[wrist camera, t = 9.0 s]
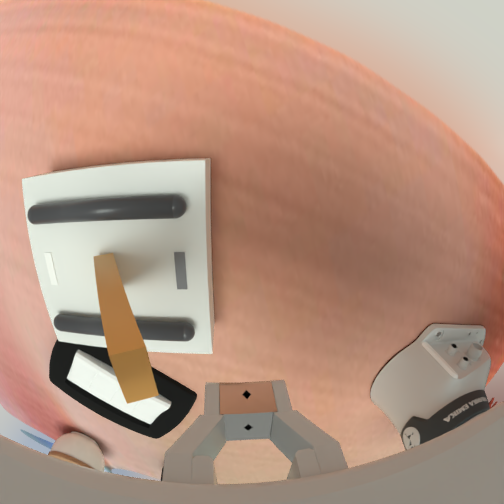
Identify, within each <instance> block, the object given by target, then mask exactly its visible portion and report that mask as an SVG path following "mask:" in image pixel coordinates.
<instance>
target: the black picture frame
mask: <svg viewBox="0 0 504 504" xmlns="http://www.w3.org/2000/svg"><path fill="white" fill-rule="evenodd" d="M151 369H152V372H153V376H154V380H155V383H156V387H157V390H158V394H159V395H158V396H155V397H151V398H148V399H144V400H140V401H136V402H132V403H128V404H127V402H126V400H125V398H124V395H123V393H122V390H121V388H120V385H119V383H118V380H117V377H116V375H115V372H114V369H113V366H112V363H111V361H110V358H109V354H108V350H107V348H105V347H97V346H89V345H81V344H74V343H67V342H61V341H58V339H57V341H56V343H55V345H54V348H53V350H52V355H51V360H50V370H49V378H50V381H51V382H52V383H53V384H54V385H56V386H57V387H58V388H60V389H61V390H62V391H63V392H65V393H66V394H68V395H69V396H70V397H72V398H73V399H75V400H76V401H78V402H79V403H81V404H82V405H84V406H86V407H87V408H89V409H91V410H92V411H94V412H96V413H97V414H99V415H101V416H103V417H105V418H107V419H109V420H111V421H113V422H115V423H117V424H119V425H121V426H123V427H126V428H128V429H130V430H133V431H135V432H138V433H140V434H143V435H146V436H149V437H152V438H156V439H157V438H160V437H161V436H163V435H165V434H167V433H168V432H170V431H171V430H172V429H173V428H175V427H176V426H177V425H178V424H179V423H180V422H181V421H182V420H183V419H184V417H185V416H186V415H187V414H188V412H189V411H190V409H191V407H192V406H193V404H194V402H195V400H196V397H197V394H196V393H195V392H194V391H192V390H190V389H188V388H187V387H185V386H183V385H182V384H180V383H179V382H177V381H175V380H173V379H172V378H170V377H168V376H166V375H165V374H163V373H161V372H160V371H158V370H156V369H154V368H153V367H151Z"/></svg>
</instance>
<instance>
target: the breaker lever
mask: <svg viewBox="0 0 504 504" xmlns="http://www.w3.org/2000/svg"><path fill="white" fill-rule="evenodd" d="M93 257H94V268H95V277H96V285H97V293H98V300H99V307H100V313H101V319H102V325H103V330H104V335H105V340H106V345H107V350H108V354H109V358H110V361H111V363H112V366H113V369H114V372H115V375H116V377H117V380H118V383H119V385H120V388H121V390H122V393H123V395H124V398H125V400H126V402H127V404H128V403H132V402H136V401H140V400H144V399H148V398H151V397H155V396H158V395H159V394H158V390H157V387H156V383H155V380H154V376H153V372H152V369H151V365H150V361H149V357H148V353H147V349H146V345H145V343H144V341H143V338H142V336H141V333H140V331H139V328H138V326H137V323H136V320H135V318H134V315H133V312H132V310H131V307H130V304H129V301H128V298H127V295H126V293H125V290H124V287H123V284H122V281H121V277H120V274H119V271H118V268H117V265H116V261H115V258H114V255H113V253H109V254H104V255H98V256H93Z"/></svg>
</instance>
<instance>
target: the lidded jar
mask: <svg viewBox="0 0 504 504" xmlns="http://www.w3.org/2000/svg"><path fill="white" fill-rule="evenodd" d="M48 455H49V456H52V457H55V458H58V459H61V460H64V461H67V462H70V463H73V464H77V465H80V466H84V467H87V468H91V469H95V470H99V471H104V467H105V463H104V457H103V454H102V452H101V450H100V448H99V445H98V444H97V442H95V441H94V440H93V439H92V438H90V437H88V436H87V435H85V434H82V433H79V432H75V431H73V432H71V433H67V434H63V435H61V436H60V437H59V438H58V439H57V440H56V441H55V443H54V444H53V446H52V448H51V451H50V452H49V454H48Z"/></svg>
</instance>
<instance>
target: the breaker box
mask: <svg viewBox="0 0 504 504" xmlns="http://www.w3.org/2000/svg"><path fill="white" fill-rule="evenodd" d="M22 186H23V196H24V205H25V213H26V220H27V226H28V232H29V238H30V243H31V248H32V253H33V258H34V262H35V267H36V271H37V275H38V279H39V282H40V286H41V290H42V293H43V297H44V300H45V303H46V306H47V310H48V313H49V316H50V319H51V322H52V324H53V327H54V330H55V333H56V335H57V338H58V341H61V342H67V343H74V344H81V345H89V346H97V347H105V348H107V345H106V340H105V335H104V330H103V325H102V319H101V313H100V307H99V300H98V293H97V285H96V277H95V268H94V257H93V256H98V255H104V254H109V253H113V255H114V258H115V261H116V265H117V268H118V271H119V274H120V277H121V281H122V284H123V287H124V290H125V293H126V295H127V298H128V301H129V304H130V307H131V310H132V312H133V315H134V318H135V320H136V323H137V326H138V328H139V331H140V333H141V336H142V338H143V341H144V343H145V345H146V349H147V351H150V352H168V353H195V354H212V352H213V337H214V323H215V321H214V301H213V278H212V246H211V158H193V159H168V160H151V161H137V162H126V163H115V164H105V165H97V166H88V167H81V168H74V169H67V170H60V171H54V172H49V173H45V174H40V175H36V176H32V177H28V178H24V179H22Z"/></svg>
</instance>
